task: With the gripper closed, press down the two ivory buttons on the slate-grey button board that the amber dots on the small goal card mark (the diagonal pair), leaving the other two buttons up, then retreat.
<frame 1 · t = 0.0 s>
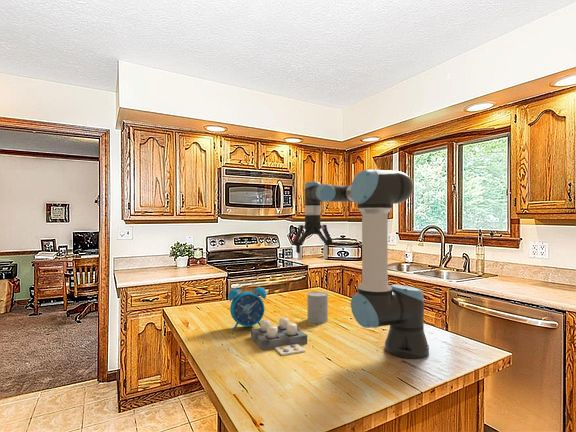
hand: (312, 259, 168), 28 cm above the counter, fingers open, 13 cm apart
button board: (278, 339, 138), on the counter
alarm clock: (247, 328, 153), on the counter
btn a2: (272, 331, 133), point 5 cm above the counter, slide at 0.0 cm
speckled white tin can: (317, 320, 164), on the counter
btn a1: (291, 329, 136), point 5 cm above the counter, slide at 0.0 cm
goal card: (289, 350, 128), on the counter
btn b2: (265, 325, 141), point 5 cm above the counter, slide at 0.0 cm
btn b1: (284, 323, 144), point 5 cm above the counter, slide at 0.0 cm
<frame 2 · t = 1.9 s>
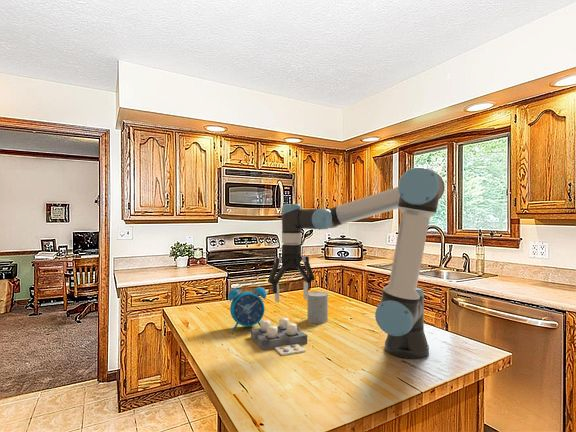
hand: (291, 300, 136), 16 cm above the counter, fingers open, 11 cm apart
nothing on the counter moved.
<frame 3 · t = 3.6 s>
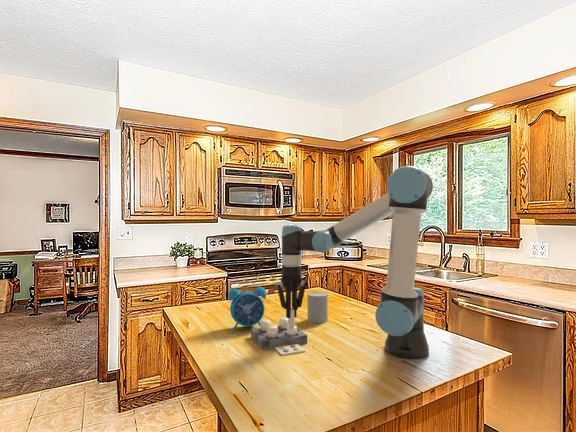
hand: (291, 325, 136), 6 cm above the counter, fingers closed
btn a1: (291, 331, 136), point 4 cm above the counter, slide at 0.8 cm, touching gripper
everything else where it was.
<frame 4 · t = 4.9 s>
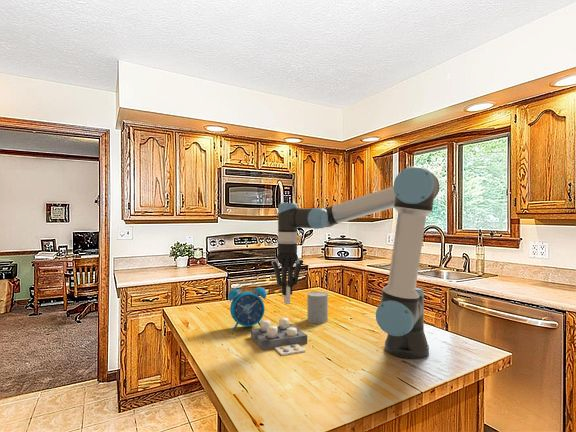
hand: (287, 303, 137), 15 cm above the counter, fingers closed
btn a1: (291, 333, 136), point 3 cm above the counter, slide at 1.7 cm
everything else where it was.
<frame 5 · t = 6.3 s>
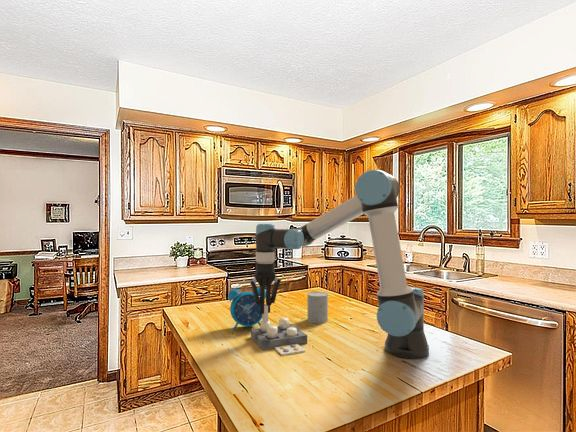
hand: (265, 321, 141), 7 cm above the counter, fingers closed
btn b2: (265, 326, 141), point 5 cm above the counter, slide at 0.2 cm, touching gripper
everything else where it was.
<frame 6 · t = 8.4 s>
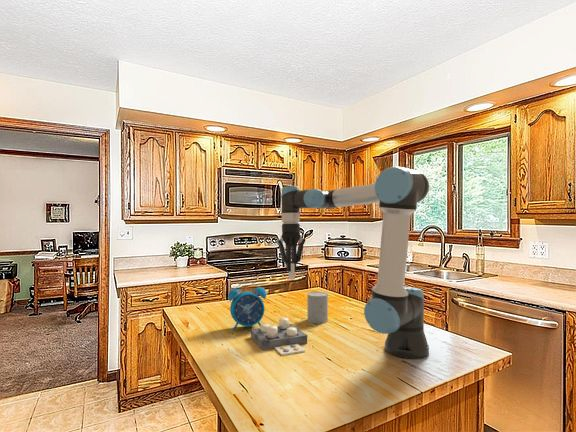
hand: (291, 279, 148), 22 cm above the counter, fingers closed
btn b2: (265, 329, 141), point 3 cm above the counter, slide at 1.7 cm
everything else where it was.
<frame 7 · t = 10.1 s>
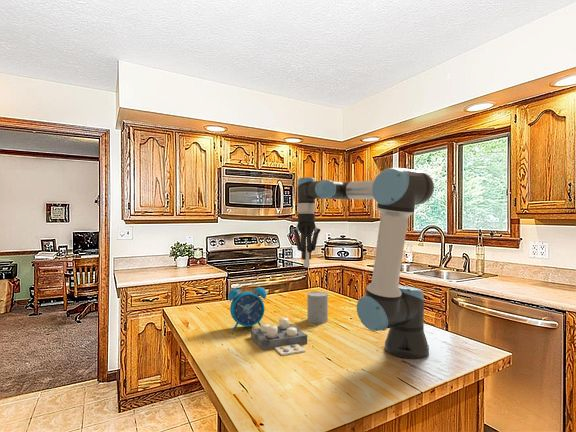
hand: (306, 266, 154), 26 cm above the counter, fingers closed
nothing on the counter moved.
at the end: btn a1 slide at 1.7 cm; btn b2 slide at 1.7 cm; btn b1 slide at 0.0 cm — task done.
